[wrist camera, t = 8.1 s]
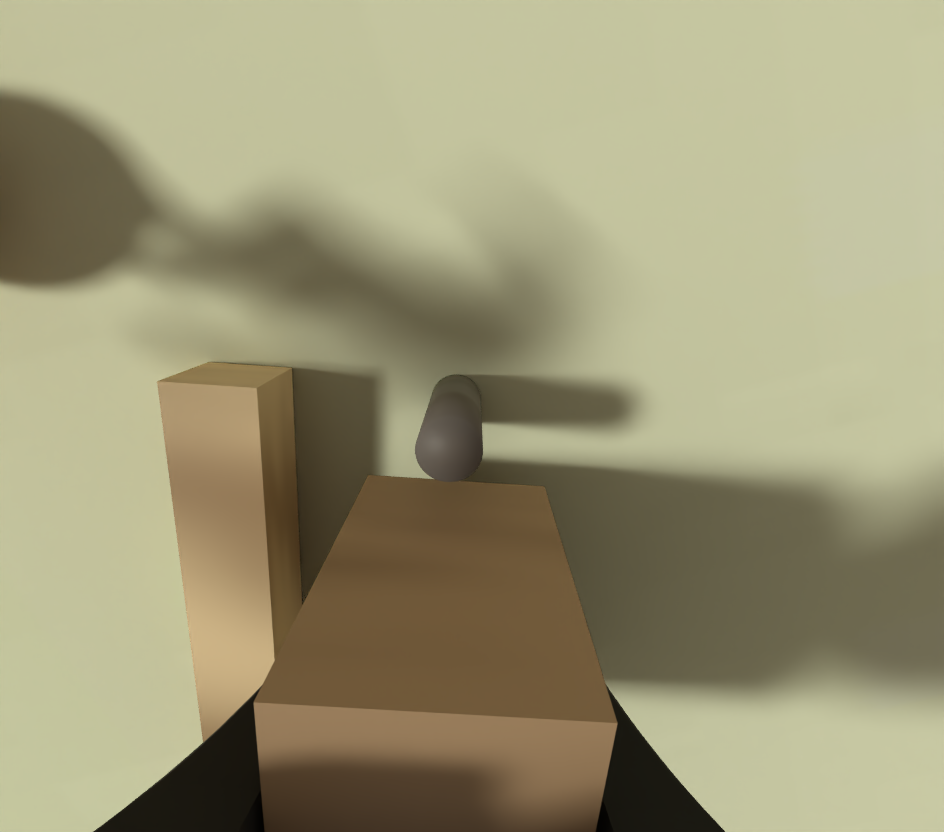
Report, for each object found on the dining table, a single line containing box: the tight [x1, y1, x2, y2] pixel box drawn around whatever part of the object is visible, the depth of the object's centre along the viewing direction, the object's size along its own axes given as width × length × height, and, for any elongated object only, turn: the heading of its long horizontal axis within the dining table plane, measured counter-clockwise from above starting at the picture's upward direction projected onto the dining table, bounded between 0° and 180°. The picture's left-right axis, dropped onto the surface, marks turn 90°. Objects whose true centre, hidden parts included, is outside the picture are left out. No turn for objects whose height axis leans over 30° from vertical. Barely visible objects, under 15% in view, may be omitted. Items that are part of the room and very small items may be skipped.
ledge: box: [157, 362, 483, 742], centre depth 13 cm, size 21×7×4 cm, turn 176°
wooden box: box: [254, 475, 618, 832], centre depth 9 cm, size 7×4×6 cm, turn 176°
